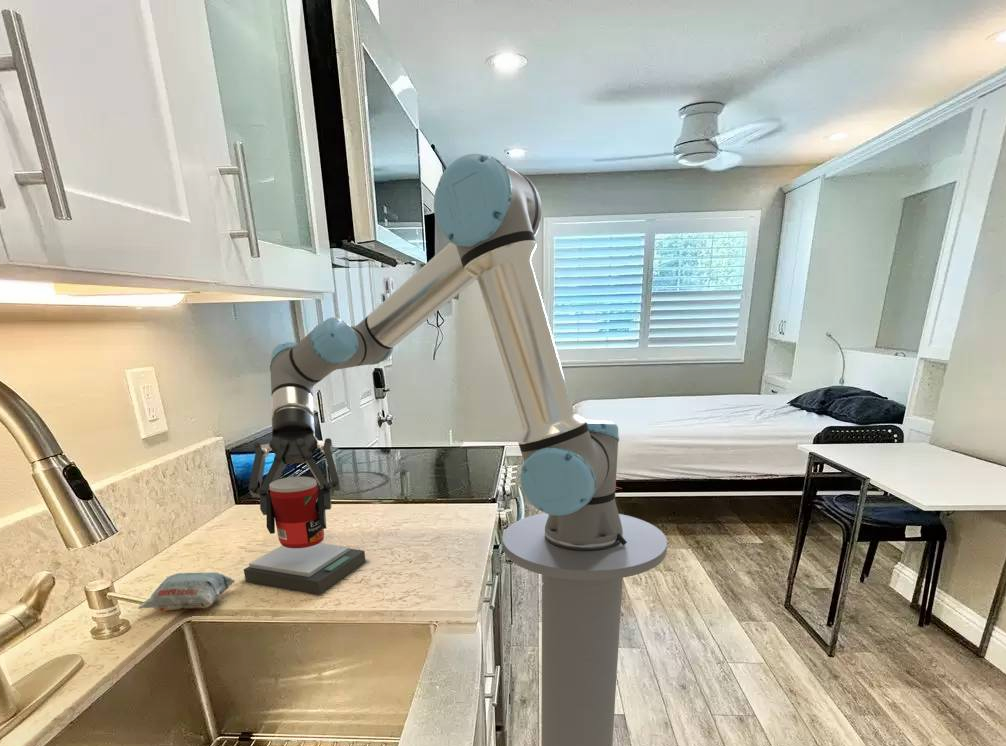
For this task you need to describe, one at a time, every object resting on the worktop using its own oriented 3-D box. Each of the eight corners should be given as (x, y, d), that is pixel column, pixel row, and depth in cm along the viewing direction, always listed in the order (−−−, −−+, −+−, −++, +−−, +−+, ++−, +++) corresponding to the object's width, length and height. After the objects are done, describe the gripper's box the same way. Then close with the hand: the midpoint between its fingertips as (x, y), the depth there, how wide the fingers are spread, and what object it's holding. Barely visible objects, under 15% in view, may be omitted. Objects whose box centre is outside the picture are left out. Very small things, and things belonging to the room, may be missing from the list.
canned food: (318, 548, 99) (309, 488, 95) (272, 549, 99) (261, 489, 95) (330, 532, 106) (321, 475, 102) (287, 533, 106) (277, 476, 102)
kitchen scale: (365, 562, 108) (364, 546, 107) (319, 594, 96) (317, 577, 95) (297, 552, 114) (294, 537, 112) (245, 581, 102) (242, 565, 100)
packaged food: (215, 616, 90) (208, 588, 88) (140, 618, 90) (132, 590, 88) (238, 592, 98) (232, 565, 96) (169, 594, 98) (162, 568, 96)
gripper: (351, 426, 112) (360, 531, 104) (240, 433, 108) (239, 542, 100) (347, 402, 105) (356, 512, 97) (228, 409, 101) (226, 524, 93)
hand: (297, 527), depth 98 cm, fingers closed on canned food, 8 cm apart
